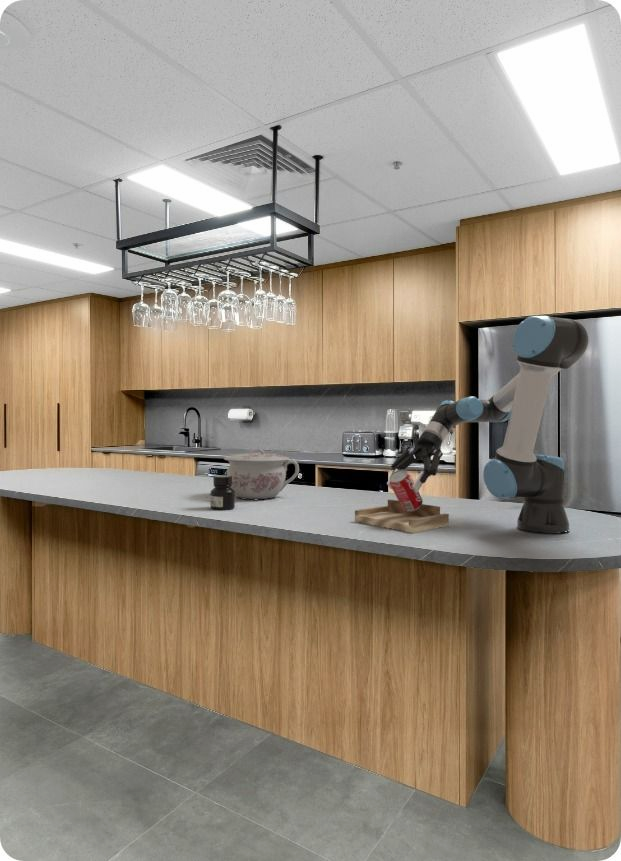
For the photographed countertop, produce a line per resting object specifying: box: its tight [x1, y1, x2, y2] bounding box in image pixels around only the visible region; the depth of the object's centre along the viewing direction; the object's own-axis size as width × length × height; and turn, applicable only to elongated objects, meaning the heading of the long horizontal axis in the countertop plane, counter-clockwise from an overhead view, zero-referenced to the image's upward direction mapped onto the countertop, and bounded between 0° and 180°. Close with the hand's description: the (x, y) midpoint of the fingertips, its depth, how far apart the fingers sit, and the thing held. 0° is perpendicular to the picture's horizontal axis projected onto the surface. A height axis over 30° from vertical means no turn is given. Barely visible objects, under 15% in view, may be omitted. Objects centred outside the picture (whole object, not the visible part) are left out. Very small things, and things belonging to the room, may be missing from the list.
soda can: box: [388, 469, 424, 512], centre depth 192 cm, size 7×7×13 cm
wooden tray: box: [354, 498, 450, 534], centre depth 193 cm, size 24×18×6 cm
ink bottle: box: [209, 474, 236, 511], centre depth 220 cm, size 10×9×12 cm
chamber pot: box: [223, 447, 300, 500], centre depth 249 cm, size 28×28×21 cm
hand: (401, 487), depth 192 cm, fingers open, 10 cm apart
